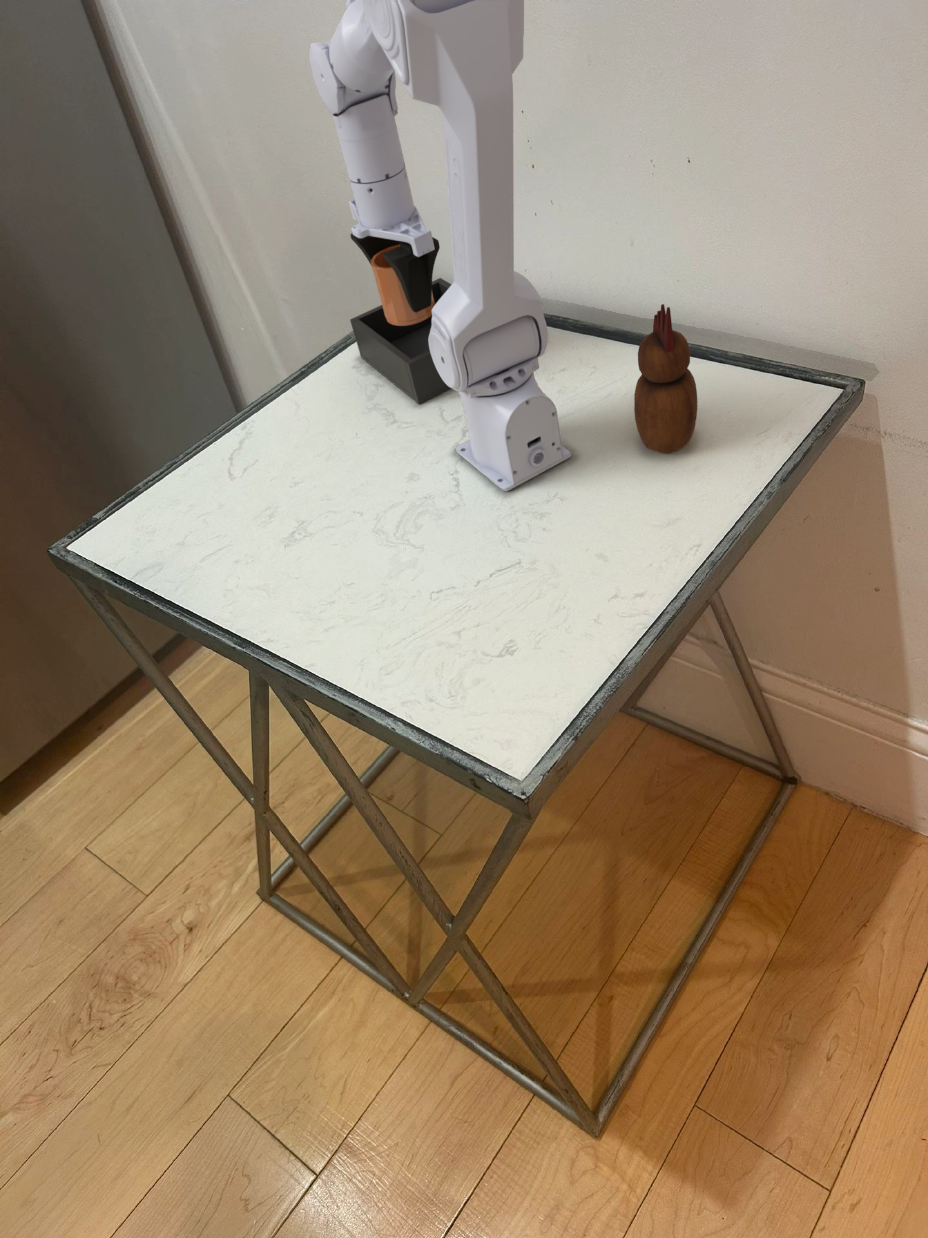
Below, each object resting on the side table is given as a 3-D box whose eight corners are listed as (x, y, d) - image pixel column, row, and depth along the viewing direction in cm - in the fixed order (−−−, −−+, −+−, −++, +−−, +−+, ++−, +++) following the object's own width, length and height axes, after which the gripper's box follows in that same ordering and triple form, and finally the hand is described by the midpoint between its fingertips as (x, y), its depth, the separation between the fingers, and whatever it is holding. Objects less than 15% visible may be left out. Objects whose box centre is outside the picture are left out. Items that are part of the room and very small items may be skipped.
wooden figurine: (696, 461, 88) (694, 315, 78) (634, 463, 90) (624, 320, 79) (698, 419, 93) (697, 275, 82) (639, 421, 94) (630, 281, 84)
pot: (444, 310, 103) (432, 253, 98) (401, 331, 101) (386, 274, 97) (419, 294, 106) (406, 238, 102) (377, 314, 105) (361, 258, 100)
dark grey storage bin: (513, 357, 107) (506, 316, 104) (419, 404, 104) (408, 364, 101) (448, 315, 117) (440, 277, 113) (360, 357, 114) (349, 319, 110)
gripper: (311, 169, 97) (346, 292, 106) (375, 204, 87) (408, 336, 97) (370, 145, 99) (400, 268, 108) (439, 176, 89) (465, 308, 99)
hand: (407, 298), depth 103 cm, fingers closed on pot, 5 cm apart
